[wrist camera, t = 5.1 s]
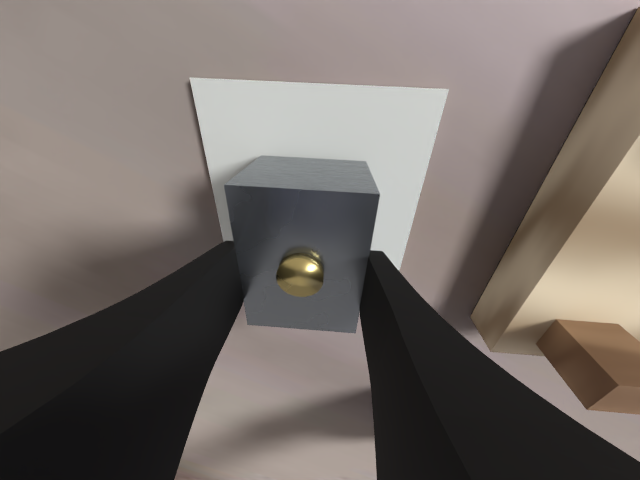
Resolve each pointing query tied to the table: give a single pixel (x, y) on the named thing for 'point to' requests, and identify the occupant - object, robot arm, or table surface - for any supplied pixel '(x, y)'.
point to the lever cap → (303, 240)
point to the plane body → (581, 252)
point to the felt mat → (324, 138)
